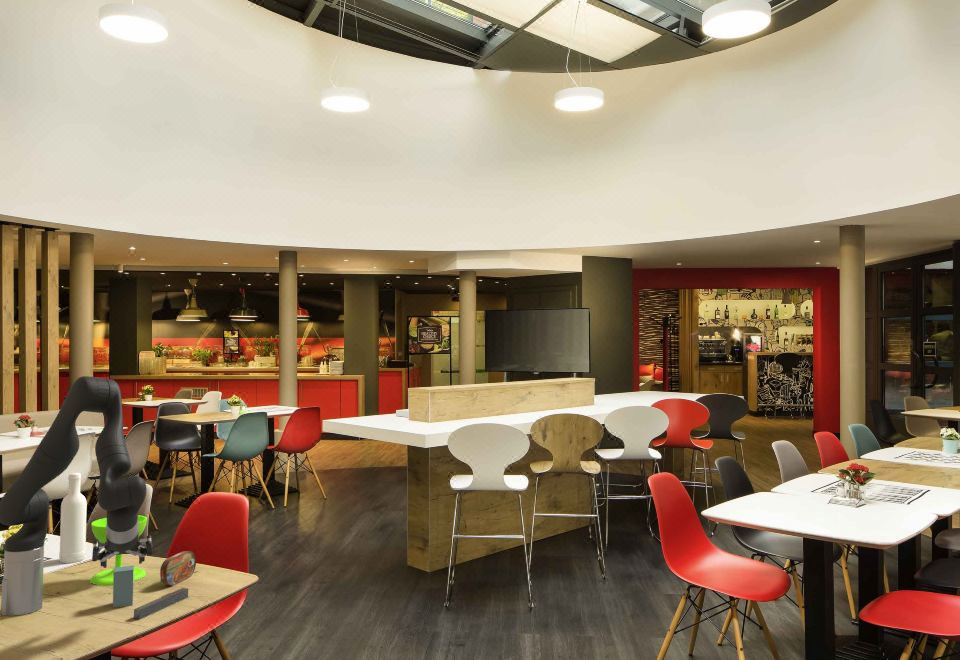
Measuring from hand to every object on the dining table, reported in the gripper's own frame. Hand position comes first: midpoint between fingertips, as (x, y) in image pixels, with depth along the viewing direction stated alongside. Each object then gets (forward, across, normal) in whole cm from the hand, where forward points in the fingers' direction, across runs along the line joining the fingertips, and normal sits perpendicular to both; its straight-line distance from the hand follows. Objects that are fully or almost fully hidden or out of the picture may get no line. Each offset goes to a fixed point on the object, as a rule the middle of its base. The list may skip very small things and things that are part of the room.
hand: (122, 562), depth 185 cm
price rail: (+12, -10, +8) cm, 18 cm away
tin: (+29, -15, -8) cm, 33 cm away
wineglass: (+37, +2, -16) cm, 41 cm away
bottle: (+57, +17, -36) cm, 70 cm away
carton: (+18, 0, +3) cm, 18 cm away
